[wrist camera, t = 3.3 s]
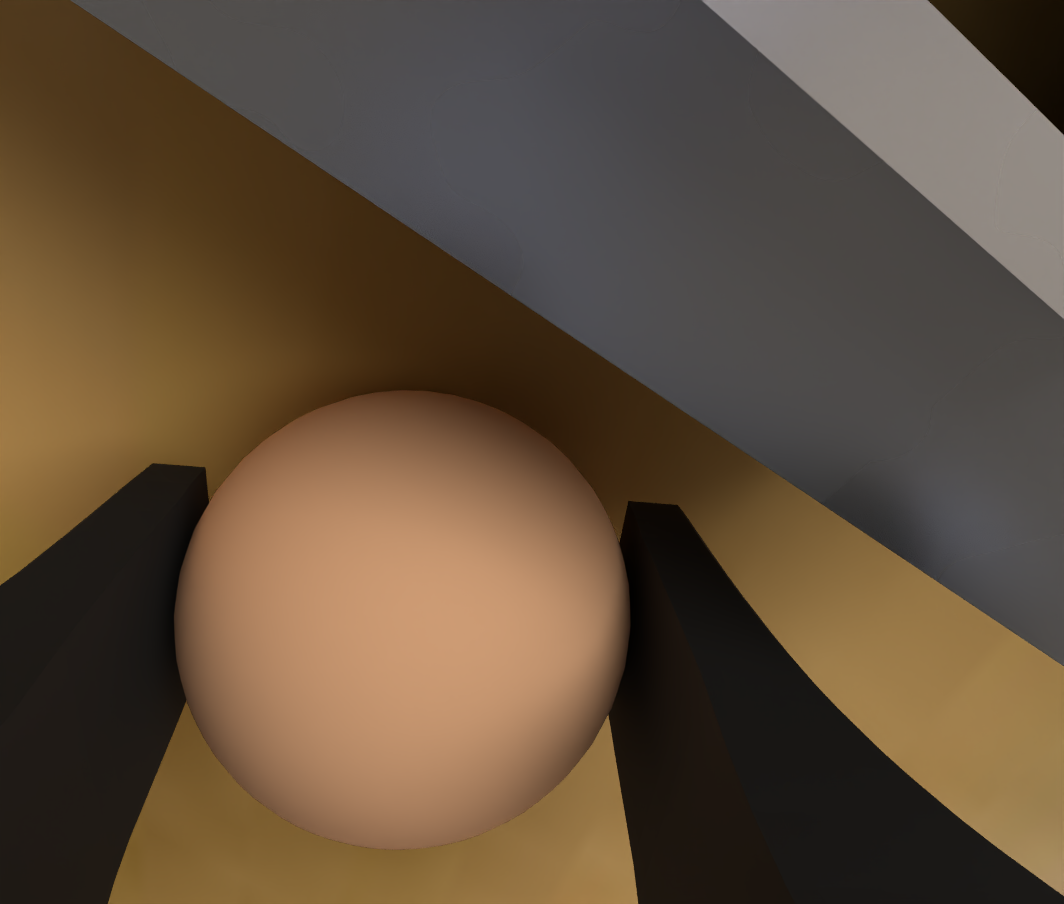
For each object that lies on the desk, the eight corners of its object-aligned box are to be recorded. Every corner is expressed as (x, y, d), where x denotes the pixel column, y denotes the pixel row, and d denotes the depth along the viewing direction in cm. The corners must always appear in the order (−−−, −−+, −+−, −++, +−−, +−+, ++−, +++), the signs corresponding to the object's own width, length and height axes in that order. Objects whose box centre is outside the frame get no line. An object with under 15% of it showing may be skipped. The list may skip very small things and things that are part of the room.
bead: (686, 446, 13) (772, 760, 9) (472, 663, 15) (458, 994, 11) (362, 234, 11) (269, 498, 7) (172, 513, 13) (18, 841, 9)
